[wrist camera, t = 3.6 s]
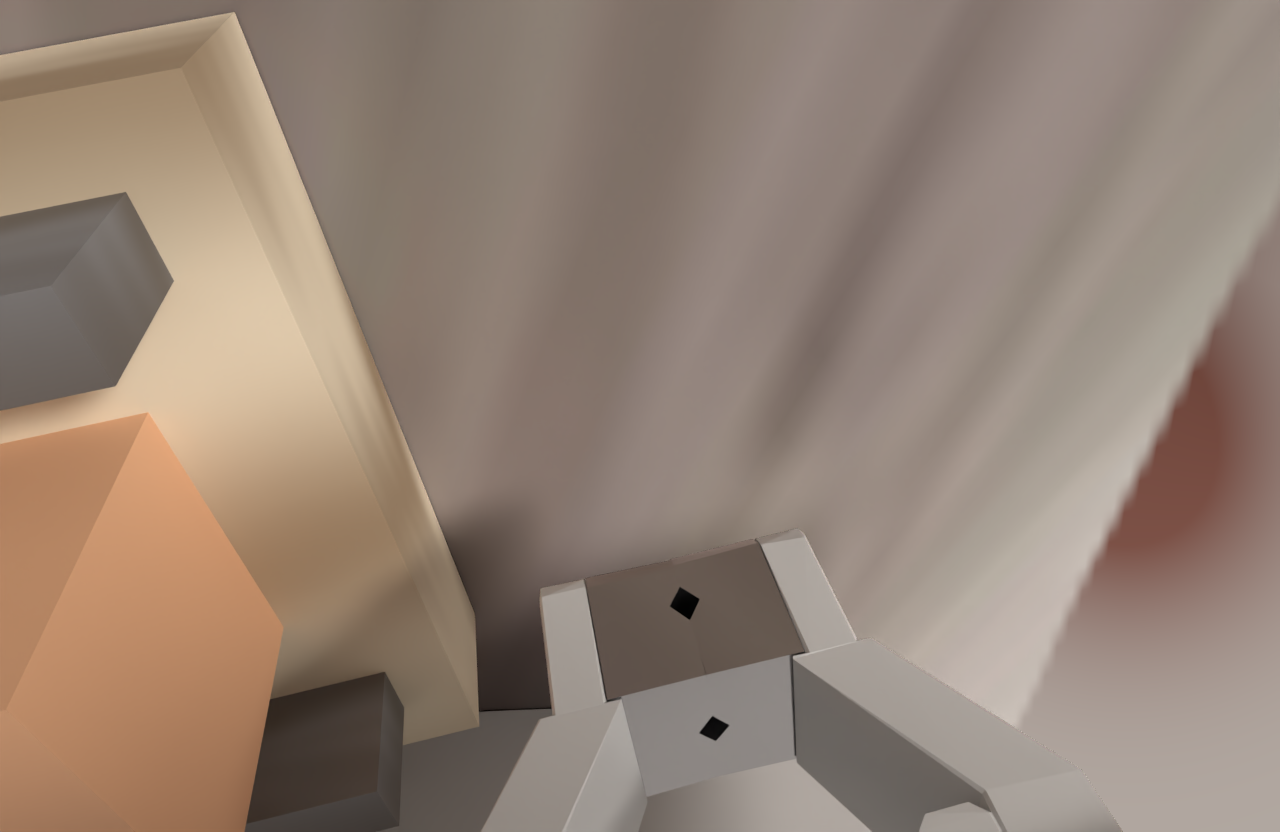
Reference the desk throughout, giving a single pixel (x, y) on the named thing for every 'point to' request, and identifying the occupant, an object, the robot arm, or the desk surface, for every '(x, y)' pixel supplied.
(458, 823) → the jerry can
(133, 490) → the block
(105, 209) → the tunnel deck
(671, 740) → the robot arm
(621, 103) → the desk surface
